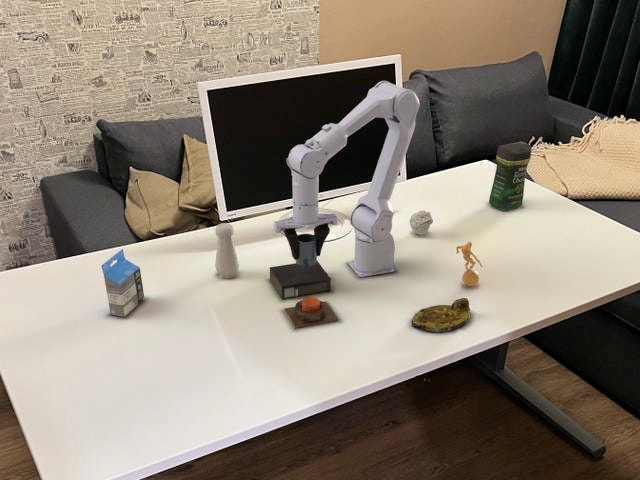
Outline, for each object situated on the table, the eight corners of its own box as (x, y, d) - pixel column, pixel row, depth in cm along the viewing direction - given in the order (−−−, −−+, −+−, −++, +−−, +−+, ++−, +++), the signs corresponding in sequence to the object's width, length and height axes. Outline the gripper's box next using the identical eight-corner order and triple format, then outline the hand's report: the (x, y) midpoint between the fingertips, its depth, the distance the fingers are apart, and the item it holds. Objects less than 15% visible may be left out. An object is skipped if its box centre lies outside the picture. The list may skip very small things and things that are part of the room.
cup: (312, 255, 173) (312, 232, 169) (319, 264, 169) (319, 241, 166) (292, 258, 171) (292, 235, 168) (299, 267, 168) (299, 244, 164)
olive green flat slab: (424, 342, 158) (479, 325, 164) (427, 325, 155) (483, 308, 160) (401, 318, 164) (455, 302, 170) (403, 301, 161) (459, 285, 167)
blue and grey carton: (125, 318, 162) (116, 268, 155) (109, 315, 163) (100, 265, 156) (145, 299, 169) (138, 250, 162) (130, 296, 170) (122, 248, 163)
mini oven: (316, 272, 181) (316, 259, 179) (331, 293, 173) (331, 280, 170) (270, 280, 177) (269, 267, 175) (282, 301, 169) (282, 288, 167)
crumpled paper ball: (418, 241, 196) (420, 217, 192) (403, 231, 201) (405, 207, 197) (436, 236, 199) (439, 212, 195) (421, 227, 204) (423, 203, 200)
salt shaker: (235, 281, 176) (231, 231, 169) (212, 278, 177) (208, 229, 170) (242, 270, 181) (239, 221, 174) (220, 267, 182) (216, 219, 174)
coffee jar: (502, 213, 212) (512, 150, 202) (484, 203, 218) (493, 142, 207) (527, 207, 217) (538, 145, 206) (508, 197, 222) (518, 137, 211)
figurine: (487, 290, 175) (494, 244, 168) (469, 296, 172) (475, 250, 165) (463, 276, 181) (469, 231, 174) (445, 282, 178) (450, 237, 171)
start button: (316, 302, 165) (316, 295, 164) (322, 311, 162) (322, 304, 161) (299, 305, 164) (299, 298, 163) (305, 314, 160) (305, 307, 159)
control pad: (325, 303, 168) (325, 294, 167) (337, 321, 162) (338, 311, 161) (284, 311, 165) (283, 301, 164) (294, 329, 159) (294, 319, 158)
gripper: (279, 211, 156) (281, 268, 164) (342, 203, 161) (341, 259, 169) (270, 199, 162) (272, 254, 170) (331, 191, 166) (330, 246, 174)
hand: (305, 256), depth 169 cm, fingers closed on cup, 5 cm apart
